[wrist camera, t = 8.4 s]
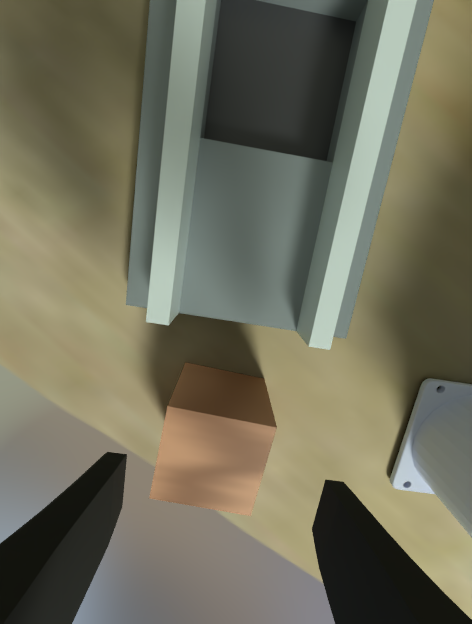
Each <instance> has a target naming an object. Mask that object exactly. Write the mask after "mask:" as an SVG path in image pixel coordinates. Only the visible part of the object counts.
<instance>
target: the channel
mask: <svg viewBox="0 0 472 624" xmlns="http://www.w3.org/2000/svg"><path fill="white" fill-rule="evenodd" d="M433 2H434V0H150V6H149V19H148V31H147V44H146V57H145V69H144V82H143V95H142V108H141V120H140V133H139V146H138V158H137V171H136V184H135V196H134V209H133V222H132V234H131V247H130V260H129V273H128V285H127V298H126V305H130V306H137V307H143V308H147V316H146V322H149V323H156V324H163V325H169V324H170V323H171V322H172V321H173V319H174V318H175V317H176V316H177V315H178V313H182V314H189V315H195V316H202V317H208V318H215V319H222V320H228V321H235V322H241V323H248V324H254V325H261V326H267V327H274V328H280V329H287V330H293V331H297V333H298V334H299V335H300V336H301V338H302V339H303V340H304V341H305V343H306V344H307V345H308V346H309V347H315V348H321V349H328V350H330V348H331V344H332V340H333V337H339V338H345V339H346V337H347V333H348V329H349V325H350V321H351V318H352V314H353V310H354V306H355V302H356V298H357V294H358V291H359V287H360V283H361V279H362V275H363V271H364V267H365V264H366V260H367V256H368V252H369V248H370V244H371V240H372V237H373V233H374V229H375V225H376V221H377V217H378V214H379V210H380V206H381V202H382V198H383V194H384V190H385V187H386V183H387V179H388V175H389V171H390V167H391V163H392V160H393V156H394V152H395V148H396V144H397V140H398V136H399V133H400V129H401V125H402V121H403V117H404V113H405V109H406V106H407V102H408V98H409V94H410V90H411V86H412V83H413V79H414V75H415V71H416V67H417V63H418V59H419V56H420V52H421V48H422V44H423V40H424V36H425V32H426V29H427V25H428V21H429V17H430V13H431V9H432V5H433Z"/></svg>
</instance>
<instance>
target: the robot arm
mask: <svg viewBox="0 0 472 624" xmlns="http://www.w3.org/2000/svg"><path fill="white" fill-rule="evenodd" d="M439 386H440V388H439V389H438V390H436V389H437V387H439ZM126 459H127V454H119V453H111V452H107V453H106V454H104V455H103V456H102V457H101V458H100V459H99V460H98V461H97V462H96V463H95V464H94V465H92V466H91V467H90V468H89V469H88V470H87V471H86V472H85V473H84V474H83V475H82V476H81V477H79V478H78V480H76V481H75V482H74V483H73V484H72V485H71V486H70V487H68V488H67V489H66V490H65V491H64V492H63V493H61V494H60V495H59V496H58V497H57V498H56V499H54V500H53V501H52V502H51V503H50V504H49V505H47V506H46V507H45V508H44V509H43V510H42V511H40V512H39V513H38V514H37V515H36V516H34V517H33V518H32V519H31V520H29V521H28V522H27V523H26V524H24V525H23V526H22V527H21V528H19V529H18V530H17V531H16V532H14V533H13V534H12V535H11V536H9V537H8V538H7V539H6V540H4V541H3V542H2V543H1V544H0V624H72V622H73V620H74V618H75V616H76V614H77V612H78V609H79V607H80V605H81V603H82V601H83V599H84V597H85V594H86V592H87V590H88V588H89V586H90V584H91V582H92V579H93V577H94V575H95V573H96V571H97V569H98V566H99V564H100V562H101V560H102V558H103V556H104V553H105V551H106V549H107V547H108V544H109V542H110V539H111V536H112V534H113V531H114V528H115V526H116V523H117V520H118V517H119V514H120V511H121V508H122V503H123V492H124V481H125V470H126ZM406 481H407V482H406ZM390 483H391V484H392V486H393V487H394V488H395V489H399V490H407V491H415V492H423V493H431V494H436V495H437V497H438V498H439V499H440V500H441V501H442V503H443V504H444V505H445V506H446V507H447V509H448V510H449V511H450V512H451V513H452V514H453V516H454V517H455V518H456V519H457V520H458V522H459V523H460V524H461V525H462V526H463V528H464V529H465V530H466V531H467V532H468V534H469V535H470V536H471V537H472V384H466V383H459V382H452V381H446V380H439V379H432V378H428V379H426V380H424V381H423V382H422V384H421V387H420V390H419V393H418V396H417V399H416V402H415V405H414V408H413V411H412V414H411V417H410V420H409V423H408V426H407V429H406V432H405V435H404V438H403V441H402V444H401V447H400V450H399V453H398V456H397V459H396V462H395V465H394V468H393V471H392V474H391V477H390ZM312 532H313V537H314V543H315V549H316V554H317V559H318V564H319V569H320V572H321V576H322V579H323V583H324V586H325V590H326V593H327V597H328V600H329V604H330V607H331V611H332V614H333V618H334V621H335V624H472V620H471V619H470V618H469V617H468V616H467V615H466V614H465V613H464V612H463V611H462V610H461V609H460V608H459V607H458V606H457V605H456V604H455V603H454V602H453V601H452V600H451V599H450V598H449V597H448V596H447V595H446V594H445V593H444V592H443V591H442V590H441V589H440V588H439V587H438V586H437V585H436V584H435V583H434V582H433V581H432V580H431V579H430V578H429V577H428V576H427V575H426V574H425V573H424V572H423V570H422V569H421V568H420V567H419V566H418V565H417V564H416V563H415V562H414V561H413V560H412V559H411V558H410V557H409V556H408V554H407V553H406V552H405V551H404V550H403V549H402V548H401V547H400V546H399V545H398V543H397V542H396V541H395V540H394V539H393V538H392V537H391V536H390V535H389V533H388V532H387V531H386V530H385V529H384V528H383V527H382V525H381V524H380V523H379V522H378V521H377V520H376V519H375V517H374V516H373V515H372V514H371V513H370V512H369V510H368V509H367V508H366V507H365V506H364V505H363V504H362V502H361V501H360V500H359V499H358V498H357V497H356V495H355V494H354V493H353V492H352V491H351V490H350V489H349V488H348V486H347V485H346V484H345V483H344V482H340V481H332V480H325V483H324V487H323V491H322V494H321V498H320V502H319V505H318V509H317V513H316V516H315V520H314V524H313V527H312Z"/></svg>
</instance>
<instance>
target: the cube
mask: <svg viewBox="0 0 472 624" xmlns="http://www.w3.org/2000/svg"><path fill="white" fill-rule="evenodd" d="M276 429H277V426H276V422H275V419H274V415H273V411H272V407H271V403H270V399H269V395H268V391H267V387H266V384H265V380H264V379H263V378H258V377H254V376H249V375H244V374H239V373H234V372H230V371H225V370H220V369H215V368H210V367H206V366H201V365H196V364H191V363H186V362H185V365H184V367H183V369H182V372H181V374H180V377H179V379H178V382H177V384H176V387H175V389H174V391H173V394H172V396H171V399H170V401H169V404H168V406H167V411H166V416H165V421H164V426H163V431H162V436H161V441H160V447H159V452H158V457H157V462H156V467H155V472H154V477H153V482H152V487H151V492H150V498H151V499H157V500H162V501H168V502H174V503H179V504H185V505H191V506H197V507H202V508H208V509H214V510H219V511H225V512H231V513H237V514H242V515H248V516H251V513H252V510H253V507H254V503H255V500H256V496H257V493H258V490H259V486H260V483H261V479H262V476H263V473H264V469H265V466H266V463H267V459H268V456H269V452H270V449H271V446H272V442H273V439H274V435H275V432H276Z"/></svg>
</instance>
